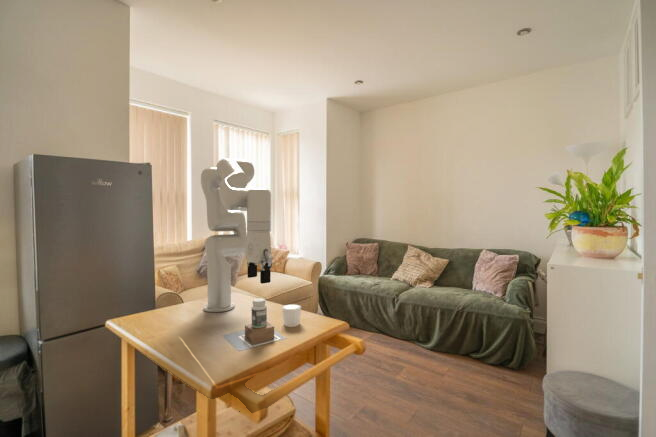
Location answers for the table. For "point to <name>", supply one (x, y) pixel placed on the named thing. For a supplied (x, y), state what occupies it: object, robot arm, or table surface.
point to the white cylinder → (291, 315)
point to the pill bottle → (259, 313)
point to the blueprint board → (243, 343)
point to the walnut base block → (259, 333)
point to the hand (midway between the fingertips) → (258, 279)
